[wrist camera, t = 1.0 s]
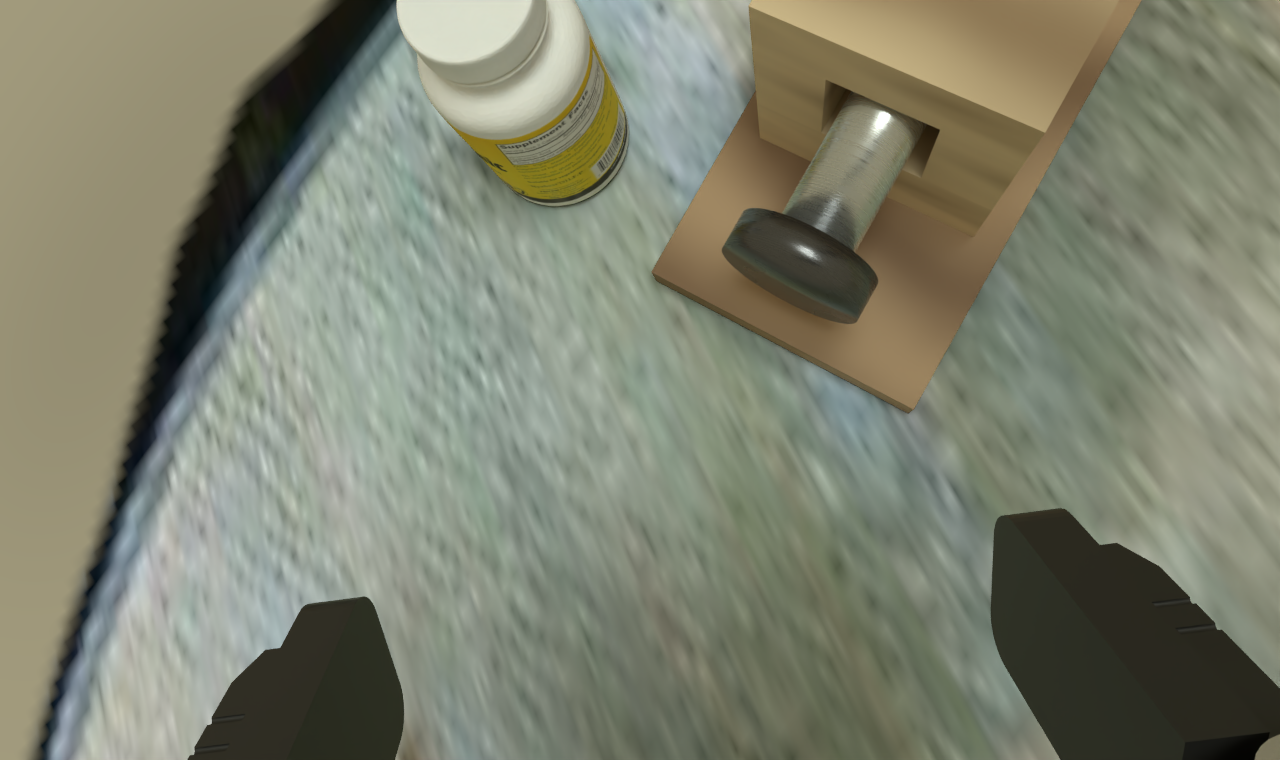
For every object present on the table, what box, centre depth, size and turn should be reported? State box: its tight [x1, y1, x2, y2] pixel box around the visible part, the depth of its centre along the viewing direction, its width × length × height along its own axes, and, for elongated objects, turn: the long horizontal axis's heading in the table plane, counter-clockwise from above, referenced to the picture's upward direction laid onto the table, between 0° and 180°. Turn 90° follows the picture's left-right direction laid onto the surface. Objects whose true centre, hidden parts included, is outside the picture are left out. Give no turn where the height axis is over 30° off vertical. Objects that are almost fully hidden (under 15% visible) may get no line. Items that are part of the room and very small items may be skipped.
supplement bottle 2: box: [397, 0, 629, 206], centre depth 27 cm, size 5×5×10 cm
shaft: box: [722, 91, 927, 324], centre depth 24 cm, size 13×4×4 cm, turn 150°
